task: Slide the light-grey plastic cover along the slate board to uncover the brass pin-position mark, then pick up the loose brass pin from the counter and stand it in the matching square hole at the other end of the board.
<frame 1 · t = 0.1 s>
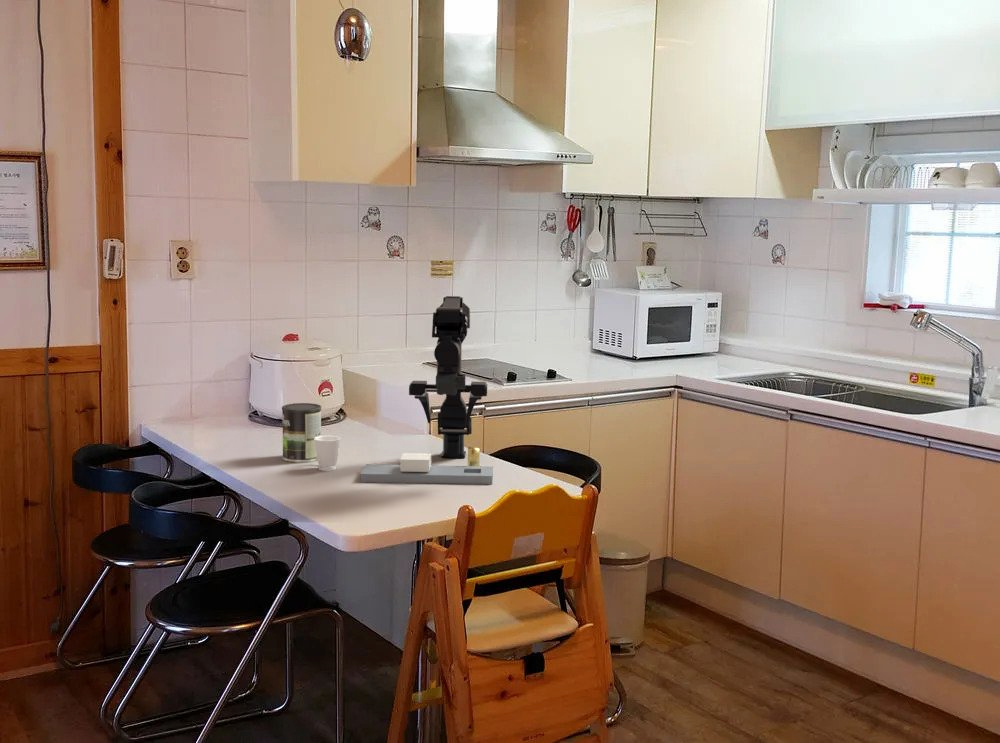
hand: (448, 423, 250), 14 cm above the table, fingers open, 9 cm apart
cup: (325, 468, 264), on the table
coffee can: (302, 459, 274), on the table
cover: (416, 462, 255), point 4 cm above the table, slide at 0.0 cm
board: (428, 477, 255), on the table
pin: (473, 471, 263), on the table
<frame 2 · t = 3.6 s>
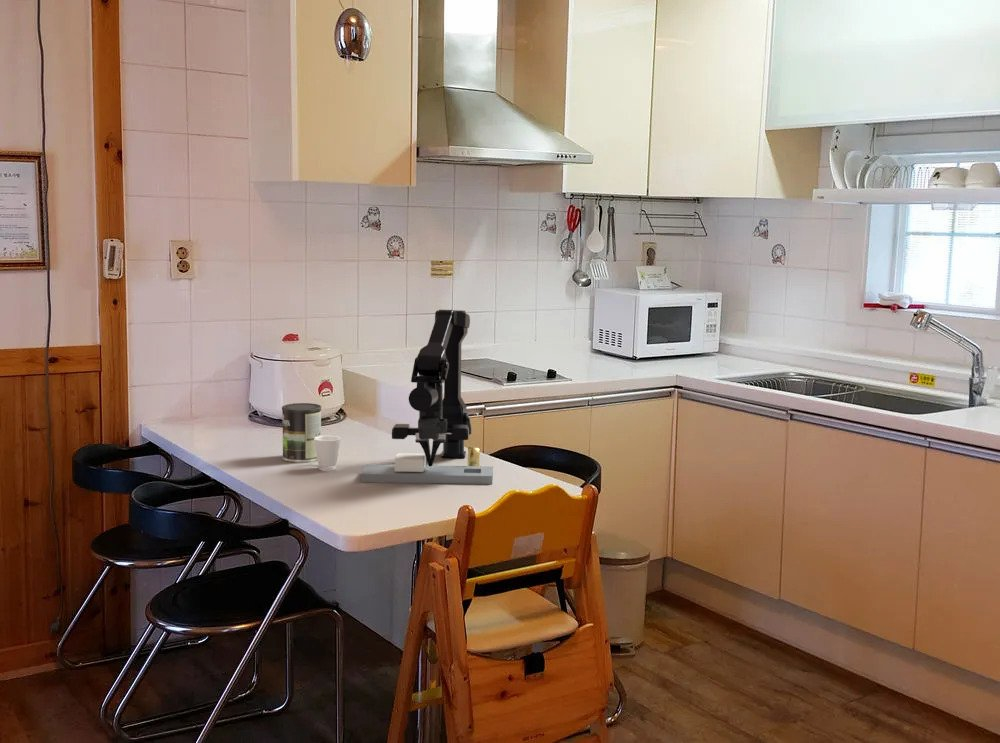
hand: (430, 466, 255), 3 cm above the table, fingers closed
cover: (410, 462, 255), point 4 cm above the table, slide at 1.4 cm, touching gripper
everything else where it was.
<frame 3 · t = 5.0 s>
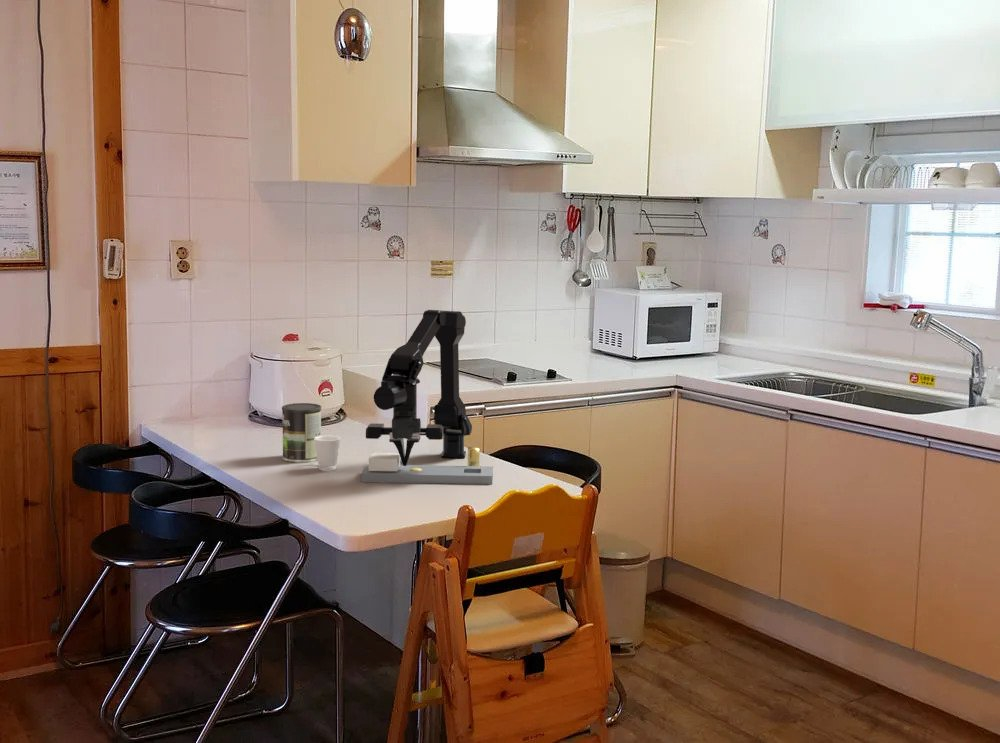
hand: (404, 465, 255), 3 cm above the table, fingers closed
cover: (384, 461, 255), point 4 cm above the table, slide at 7.8 cm, touching gripper
everything else where it was.
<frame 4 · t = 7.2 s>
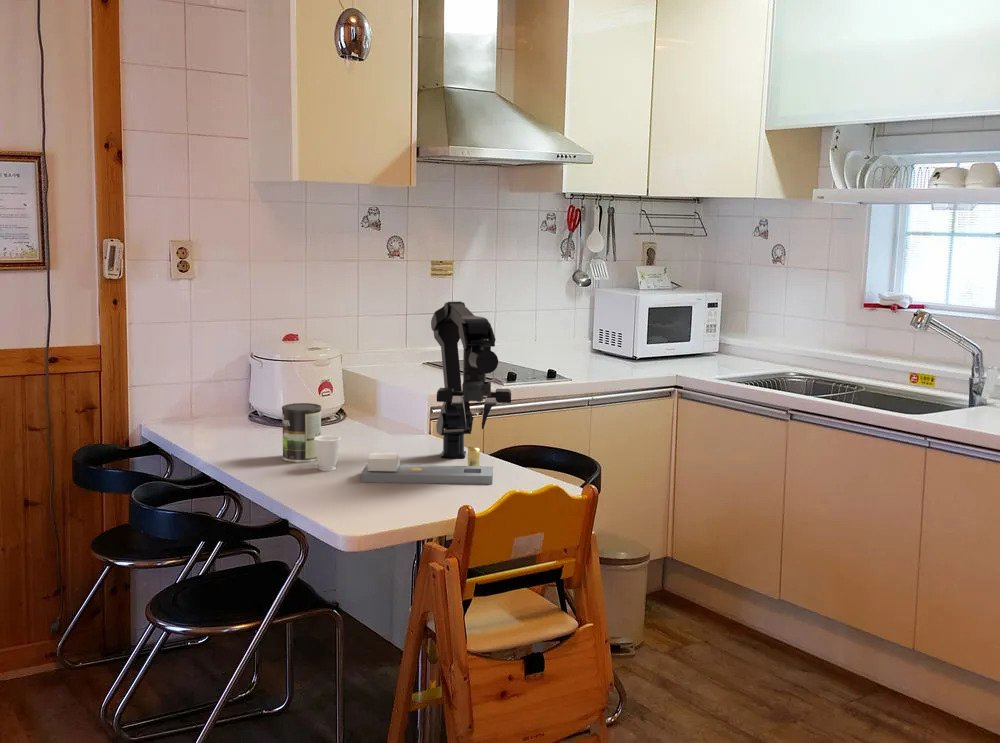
hand: (473, 428, 262), 11 cm above the table, fingers open, 4 cm apart
cover: (383, 461, 255), point 4 cm above the table, slide at 8.0 cm
everything else where it was.
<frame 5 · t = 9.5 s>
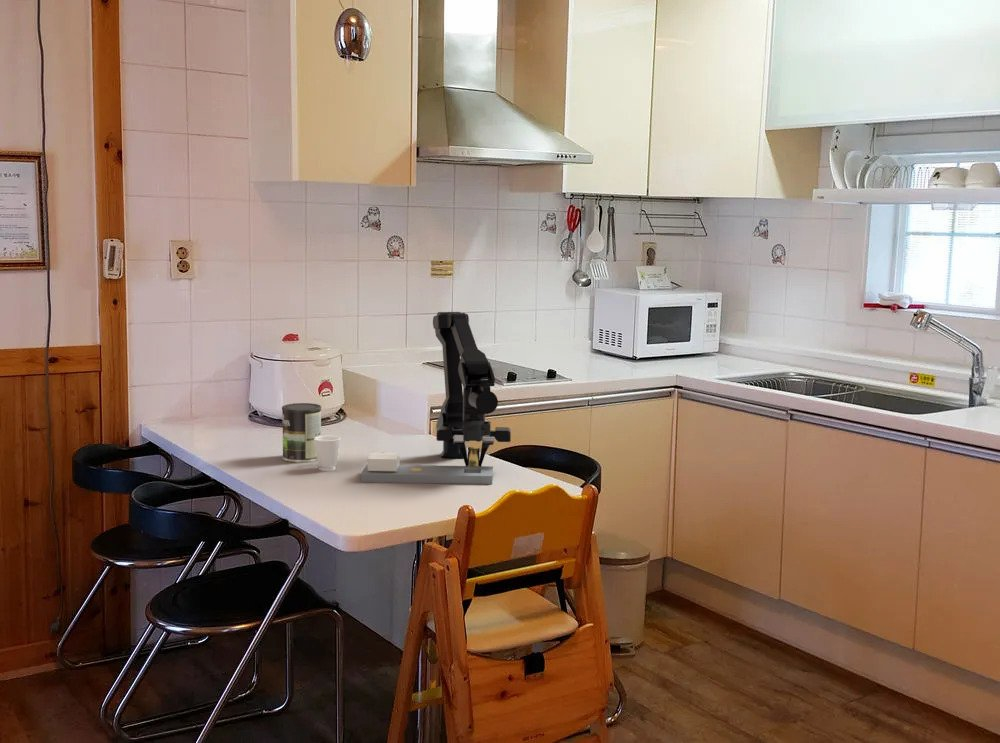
hand: (473, 467, 263), 1 cm above the table, fingers closed on pin, 3 cm apart
pin: (473, 471, 263), on the table, touching gripper
everything else where it was.
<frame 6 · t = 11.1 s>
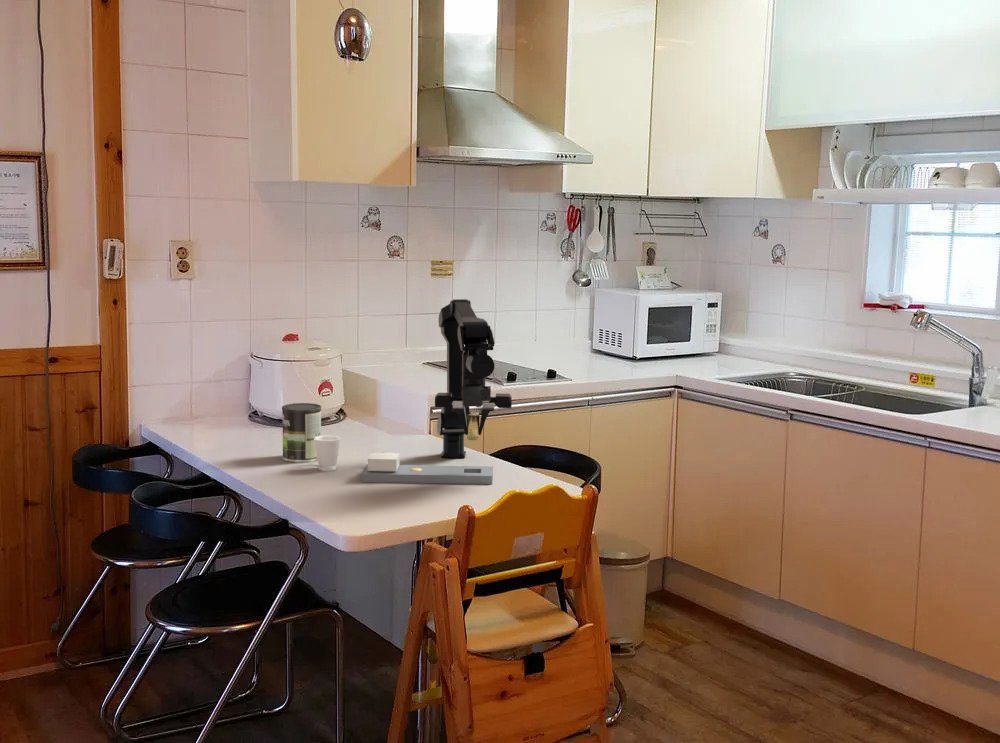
hand: (473, 434, 254), 11 cm above the table, fingers closed on pin, 3 cm apart
pin: (473, 438, 254), point 10 cm above the table, touching gripper
everything else where it was.
when the fingers open (3 cm above the table, at t = 13.2 s): pin drops 2 cm, resting in board.
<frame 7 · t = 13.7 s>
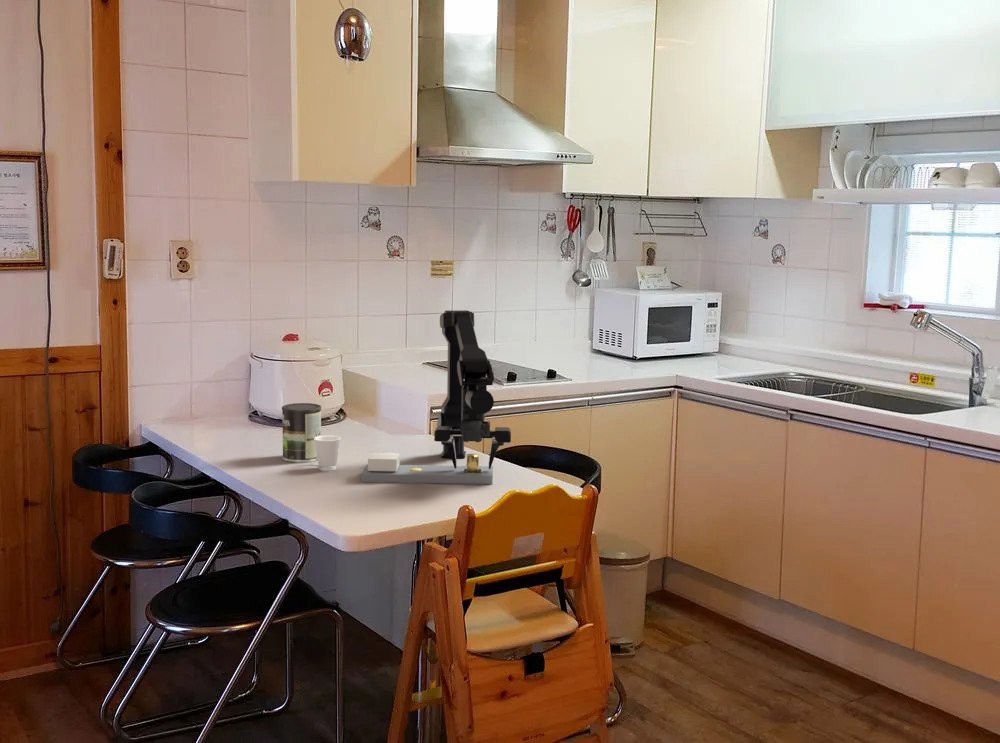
hand: (472, 468, 255), 3 cm above the table, fingers open, 8 cm apart
pin: (472, 478, 255), resting in board
everything else where it was.
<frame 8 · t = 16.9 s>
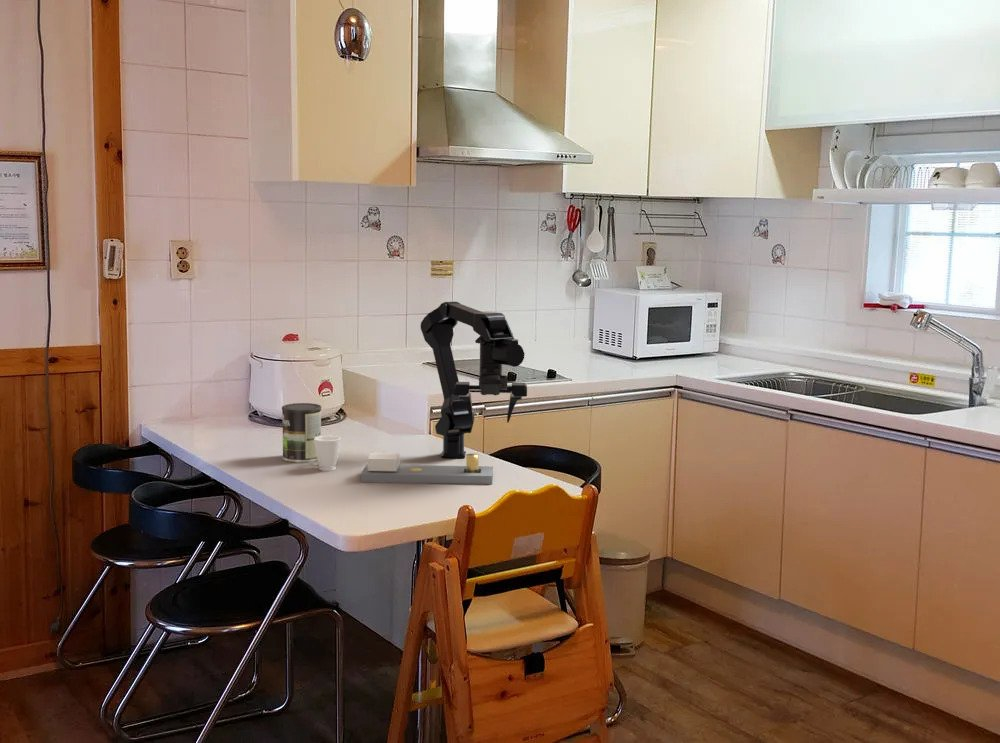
hand: (490, 422, 265), 12 cm above the table, fingers open, 9 cm apart
nothing on the table moved.
at the end: cover slide at 8.0 cm; pin 0.0 cm from the target spot, resting in board; pin tilted 1° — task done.
